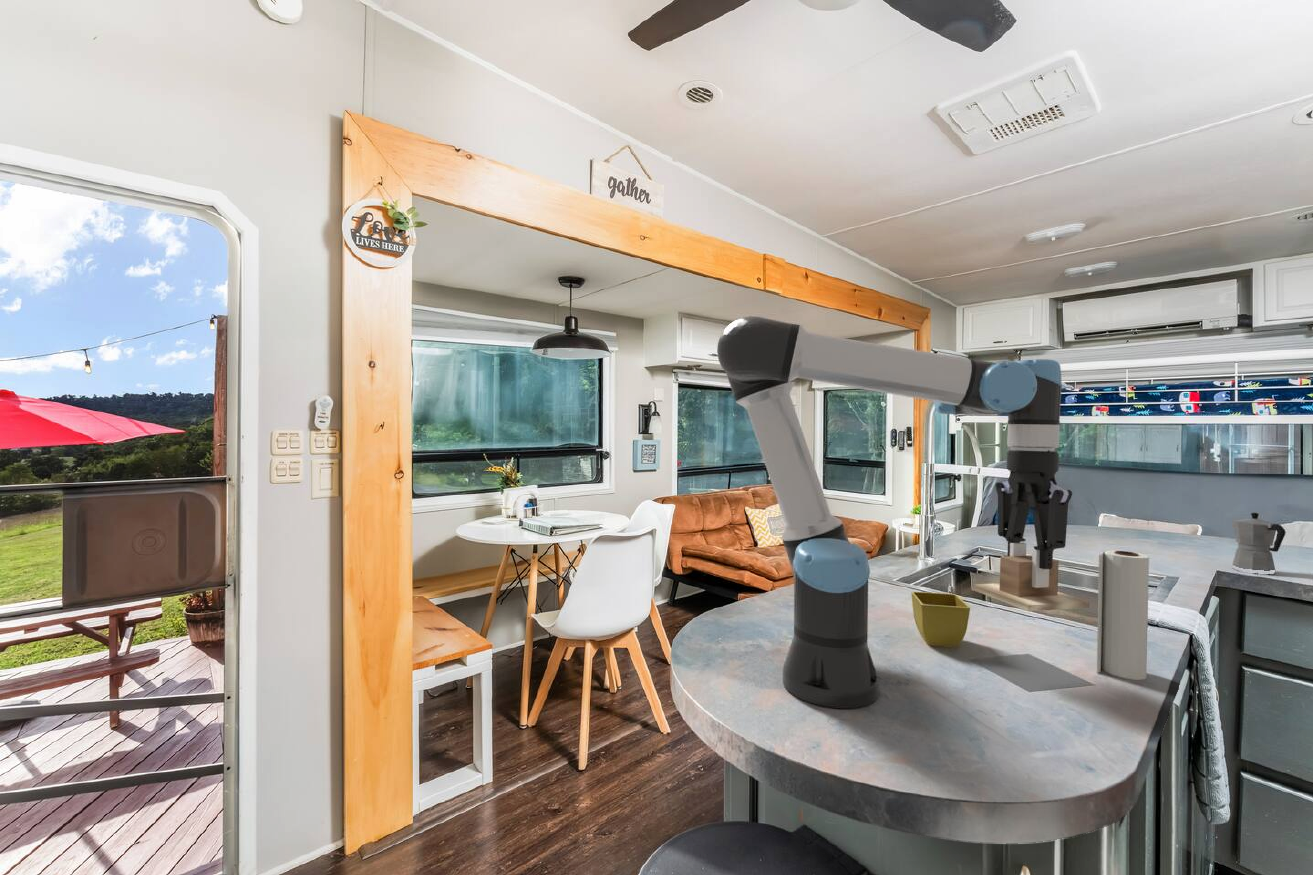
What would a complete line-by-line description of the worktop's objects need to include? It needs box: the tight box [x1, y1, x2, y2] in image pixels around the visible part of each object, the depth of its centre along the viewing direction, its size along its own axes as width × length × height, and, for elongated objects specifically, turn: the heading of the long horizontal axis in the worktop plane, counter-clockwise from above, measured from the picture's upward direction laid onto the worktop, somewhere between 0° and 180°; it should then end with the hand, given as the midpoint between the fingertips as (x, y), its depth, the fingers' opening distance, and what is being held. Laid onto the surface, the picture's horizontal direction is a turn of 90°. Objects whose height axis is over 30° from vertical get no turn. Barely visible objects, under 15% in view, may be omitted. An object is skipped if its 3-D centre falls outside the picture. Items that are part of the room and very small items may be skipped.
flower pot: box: [911, 591, 971, 649], centre depth 111 cm, size 9×9×9 cm
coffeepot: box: [1231, 512, 1286, 571], centre depth 170 cm, size 15×9×18 cm, turn 175°
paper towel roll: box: [1096, 550, 1150, 681], centre depth 98 cm, size 7×6×21 cm
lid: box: [972, 555, 1090, 612], centre depth 98 cm, size 12×12×7 cm
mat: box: [968, 653, 1096, 693], centre depth 98 cm, size 13×13×1 cm
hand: (1028, 582), depth 98 cm, fingers closed on lid, 4 cm apart
